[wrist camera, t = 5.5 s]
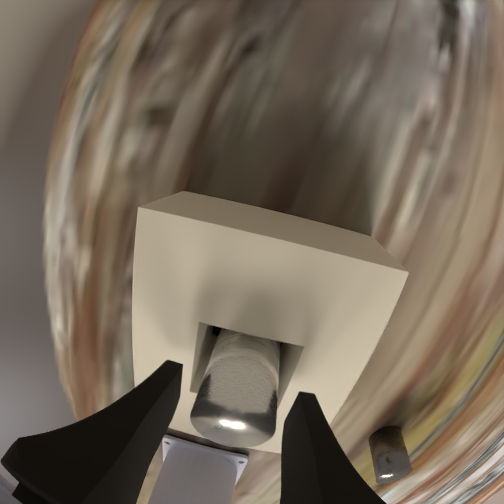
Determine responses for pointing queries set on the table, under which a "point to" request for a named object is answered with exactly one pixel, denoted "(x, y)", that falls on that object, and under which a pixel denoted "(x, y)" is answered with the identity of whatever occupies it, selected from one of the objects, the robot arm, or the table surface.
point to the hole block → (257, 297)
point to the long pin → (239, 391)
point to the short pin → (389, 455)
